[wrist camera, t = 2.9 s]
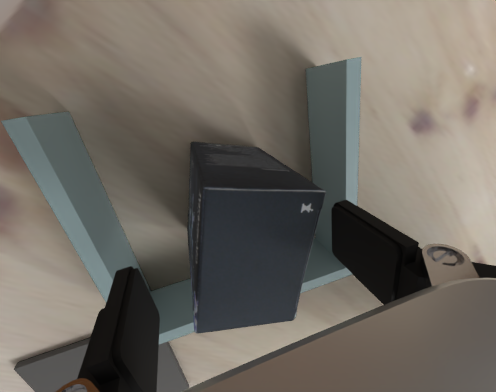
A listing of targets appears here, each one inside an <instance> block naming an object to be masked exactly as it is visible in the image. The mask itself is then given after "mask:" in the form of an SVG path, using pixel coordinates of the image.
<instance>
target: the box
mask: <svg viewBox="0 0 496 392" xmlns="http://www.w3.org/2000/svg"><path fill="white" fill-rule="evenodd" d="M325 195H326V191H325V190H323V189H321V188H320V187H318V186H317V185H315V184H314V183H312V182H311V181H309V180H307V179H306V178H304V177H303V176H301V175H300V174H298V173H297V172H295V171H294V170H292V169H291V168H289V167H288V166H286V165H284V164H283V163H281V162H280V161H278V160H277V159H275V158H274V157H272V156H271V155H269V154H267V153H266V152H265V151H263V150H261V149H260V148H257V147H247V146H236V145H224V144H211V143H200V142H191V149H190V179H189V210H188V226H187V231H188V247H189V260H190V272H191V288H192V303H193V320H194V331H195V333H205V332H213V331H220V330H227V329H234V328H241V327H249V326H256V325H263V324H270V323H277V322H285V321H293V320H294V318H295V317H296V312H297V306H298V302H299V297H300V292H301V288H302V284H303V280H304V276H305V271H306V267H307V263H308V259H309V256H310V251H311V247H312V244H313V239H314V235H315V232H316V228H317V224H318V221H319V216H320V213H321V210H322V206H323V203H324V199H325Z"/></svg>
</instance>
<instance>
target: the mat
mask: <svg viewBox="0 0 496 392" xmlns="http://www.w3.org/2000/svg"><path fill="white" fill-rule="evenodd" d="M89 341H90V338H88V339H85V340H82V341H79V342H76V343H73V344H71V345H68V346H65V347H62V348H59V349H56V350H53V351H50V352H47V353H44V354H41V355H38V356H35V357H32V358H29V359H27V360H24V361H21V362H18V363H17V365H16V366H15V368H14V370H15V371H16V372H17V373H18V374H19V375H20V376H21V377H22V378H23V379H24V380H25V381H26V383H27V384H28V385H29V386H30V387H31V388H32V389H33V390H34V391H35V392H56V391H57V390H58V389H60V388H61V387H62V386H63V385H65V384H67V383H69V382H71V381H73V380H76V379H77V378H78V375H79V371H80V368H81V365H82V362H83V359H84V356H85V353H86V350H87V347H88V344H89ZM186 389H189V384H188V382H187V380H186V378H185V376H184V374H183V372H182V370H181V368H180V365H179V363H178V361H177V359H176V357H175V355H174V353H173V351H172V348H171V346H170V344H169V342H165V343H162V344H159V349H158V371H157V392H182V391H184V390H186Z"/></svg>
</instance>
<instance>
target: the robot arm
mask: <svg viewBox="0 0 496 392" xmlns="http://www.w3.org/2000/svg"><path fill="white" fill-rule="evenodd" d="M331 220H332V252H333V254H334V256H335V257H336V258H337V259H338V260H339V261H340V262H341V263H342V264H343V265H344V266H345V267H346V268H347V269H348V270H349V271H350V272H351V273H352V274H353V275H354V276H355V277H356V278H357V279H358V280H359V281H360V282H361V283H362V284H363V285H364V286H365V287H366V288H367V289H368V290H369V291H370V292H372V293H373V294H374V295H375V296H376V297H377V298H378V299H379V300H380V301H381V302H382V303H383V304H384V305H383V306H380V307H378V308H376V309H373V310H371V311H368V312H366V313H364V314H361V315H359V316H356V317H354V318H352V319H349V320H347V321H344V322H342V323H340V324H337V325H335V326H333V327H330V328H328V329H325V330H323V331H321V332H318V333H316V334H314V335H311V336H309V337H307V338H304V339H302V340H299V341H297V342H295V343H292V344H290V345H288V346H285V347H283V348H281V349H278V350H276V351H274V352H271V353H269V354H267V355H264V356H262V357H260V358H257V359H255V360H253V361H250V362H248V363H246V364H243V365H241V366H239V367H236V368H234V369H232V370H229V371H227V372H225V373H222V374H220V375H218V376H216V377H213V378H211V379H209V380H206V381H204V382H202V383H200V384H197V385H195V386H193V387H191V388H189V389H186V390H184V391H182V392H496V266H493V265H487V264H480V263H474V262H471V261H470V259H469V257H468V256H467V255H466V254H465V253H464V252H462V251H461V250H459V249H457V248H455V247H451V246H448V245H443V244H430V245H427V246H425V247H424V248H423V249H421V248H419V247H418V244H419V243H418V242H417V241H415V240H413V239H412V238H410V237H408V236H407V235H405V234H403V233H402V232H400V231H398V230H397V229H395V228H393V227H391V226H390V225H388V224H386V223H385V222H383V221H381V220H380V219H378V218H376V217H375V216H373V215H371V214H370V213H368V212H366V211H365V210H363V209H361V208H360V207H358V206H356V205H355V204H353V203H351V202H350V201H348V200H343V201H340V202H337V203H335V204H334V207H332V209H331ZM159 327H160V316H159V311H158V309H157V307H156V305H155V303H154V301H153V299H152V296H151V294H150V292H149V290H148V288H147V286H146V284H145V282H144V279H143V277H142V275H141V273H140V271H139V269H138V268H135V269H134V268H133V267H132V266H130V267H127V268H123V269H120V270H117V271H116V273H115V276H114V280H113V283H112V286H111V289H110V293H109V296H108V299H107V302H106V306H105V308H104V309H102V310H100V312H99V314H98V317H97V320H96V323H95V326H94V329H93V332H92V335H91V338H90V341H89V344H88V347H87V350H86V353H85V356H84V359H83V362H82V365H81V368H80V371H79V375H78V378H77V379H76V380H73V381H71V382H69V383H67V384H65V385H63V386H62V387H61V388H60V389H58V390H57V391H56V392H157V371H158V349H159Z"/></svg>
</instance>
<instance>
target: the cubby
mask: <svg viewBox="0 0 496 392" xmlns="http://www.w3.org/2000/svg"><path fill="white" fill-rule="evenodd" d="M306 81H307V99H308V116H309V133H310V150H311V167H312V183H314V184H315V185H317V186H318V187H320V188H321V189H323V190H325V191H326V195H325V199H324V203H323V206H322V210H321V213H320V216H319V221H318V224H317V228H316V232H315V236H316V238H315V239H313V244H312V247H311V251H310V256H309V259H308V263H307V267H306V271H305V276H304V280H303V284H302V288H301V292H300V293H303V292H305V291H308V290H311V289H314V288H316V287H319V286H322V285H325V284H327V283H330V282H333V281H336V280H338V279H341V278H344V277H347V276H349V275H352V273H351V272H350V271H349V270H348V269H347V268H346V267H345V266H344V265H343V264H342V263H341V262H340V261H339V260H338V259H337V258H336V257H335V256H334V254H333V252H332V220H331V209H332V207H334V204H335V203H337V202H340V201H343V200H348V201H350V202H351V203H353V204H355V205H356V206H357V195H358V158H359V122H360V85H361V57H358V58H353V59H347V60H343V61H338V62H334V63H330V64H325V65H321V66H317V67H312V68H308V69H306ZM1 122H2V124H3V125H4V127H5V129H6V131H7V132H8V134H9V136H10V137H11V139H12V141H13V143H14V144H15V146H16V148H17V150H18V151H19V153H20V155H21V156H22V158H23V160H24V162H25V163H26V165H27V167H28V169H29V170H30V172H31V174H32V175H33V177H34V179H35V181H36V182H37V184H38V186H39V188H40V189H41V191H42V193H43V195H44V196H45V198H46V200H47V201H48V203H49V205H50V207H51V208H52V210H53V212H54V214H55V215H56V217H57V219H58V220H59V222H60V224H61V226H62V227H63V229H64V231H65V233H66V234H67V236H68V238H69V239H70V241H71V243H72V245H73V246H74V248H75V250H76V252H77V253H78V255H79V257H80V258H81V260H82V262H83V264H84V265H85V267H86V269H87V271H88V272H89V274H90V276H91V277H92V279H93V281H94V283H95V284H96V286H97V288H98V290H99V291H100V293H101V295H102V297H103V298H104V300H105V302H107V299H108V296H109V293H110V289H111V286H112V283H113V280H114V276H115V273H116V271H117V270H120V269H123V268H127V267H130V266H132V267H133V268H134V269H135V268H138V269H139V271H140V273H141V275H142V277H143V279H144V282H145V284H146V286H147V288H148V290H149V292H150V294H151V296H152V299H153V301H154V303H155V305H156V307H157V309H158V311H159V316H160V327H159V344H162V343H165V342H168V341H170V340H173V339H176V338H179V337H181V336H184V335H187V334H190V333H192V332H195V331H194V320H193V303H192V288H191V278H190V279H187V280H184V281H181V282H178V283H175V284H172V285H169V286H166V287H163V288H159V289H156V290H153V291H151V290H150V288H149V286H148V284H147V282H146V279H145V277H144V275H143V273H142V271H141V268H140V266H139V264H138V262H137V260H136V257H135V255H134V253H133V251H132V249H131V247H130V244H129V242H128V240H127V238H126V236H125V233H124V231H123V229H122V227H121V225H120V222H119V220H118V218H117V216H116V214H115V211H114V209H113V207H112V205H111V203H110V201H109V198H108V196H107V194H106V192H105V190H104V187H103V185H102V183H101V181H100V179H99V176H98V174H97V172H96V170H95V168H94V165H93V163H92V161H91V159H90V157H89V155H88V152H87V150H86V148H85V146H84V144H83V141H82V139H81V137H80V135H79V133H78V130H77V128H76V126H75V124H74V122H73V119H72V117H71V115H70V113H69V112H61V113H52V114H44V115H36V116H27V117H21V118H15V119H10V120H4V121H1Z"/></svg>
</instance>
